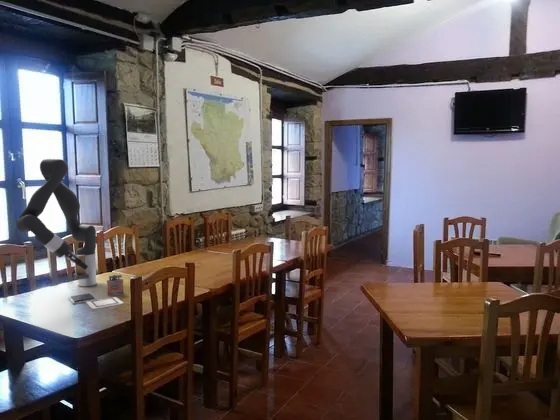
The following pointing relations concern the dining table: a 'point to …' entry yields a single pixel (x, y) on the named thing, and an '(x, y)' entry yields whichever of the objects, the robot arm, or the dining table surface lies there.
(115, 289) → the lighter
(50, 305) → the dining table surface
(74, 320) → the dining table surface
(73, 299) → the ink pad
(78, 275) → the stamp
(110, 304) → the marked board
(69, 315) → the dining table surface
